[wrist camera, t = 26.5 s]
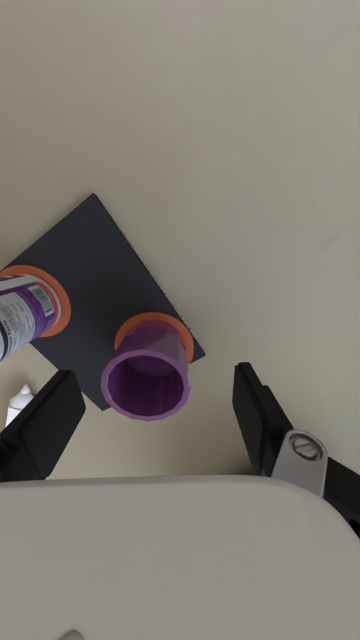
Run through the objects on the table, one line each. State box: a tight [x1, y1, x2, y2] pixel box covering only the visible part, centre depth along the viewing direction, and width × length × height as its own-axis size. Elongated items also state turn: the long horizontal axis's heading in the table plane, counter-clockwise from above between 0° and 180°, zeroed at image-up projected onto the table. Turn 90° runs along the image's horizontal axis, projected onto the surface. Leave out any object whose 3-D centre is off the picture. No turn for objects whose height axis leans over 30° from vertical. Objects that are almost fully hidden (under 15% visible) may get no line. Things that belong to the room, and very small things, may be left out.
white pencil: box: [6, 382, 34, 427], centre depth 23 cm, size 3×2×16 cm
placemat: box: [0, 193, 205, 411], centre depth 19 cm, size 18×14×1 cm
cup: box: [101, 320, 191, 421], centre depth 17 cm, size 7×7×6 cm
